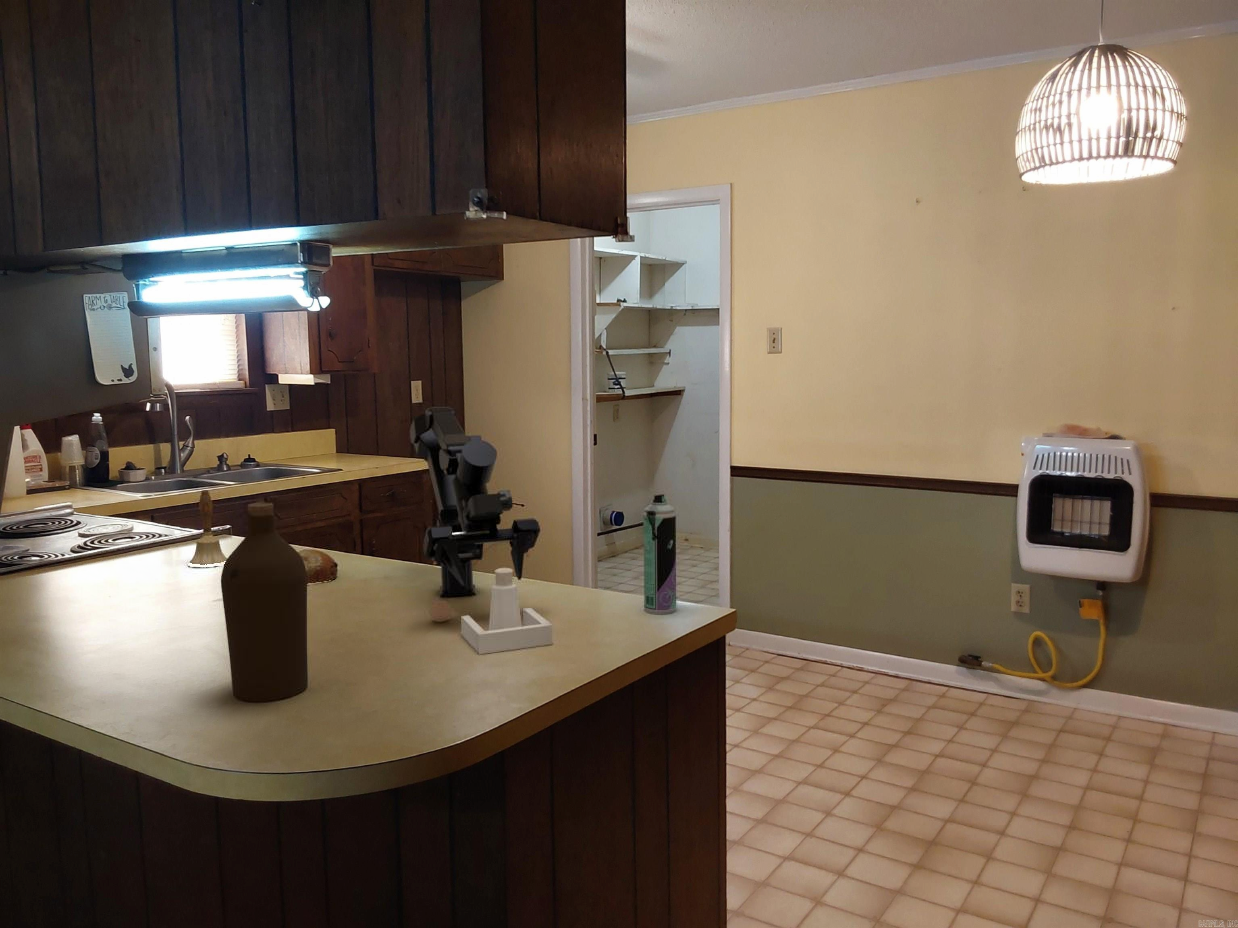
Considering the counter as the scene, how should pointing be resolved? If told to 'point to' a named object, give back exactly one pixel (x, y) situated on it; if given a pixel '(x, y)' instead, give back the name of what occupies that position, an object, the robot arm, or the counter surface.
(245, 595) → the dark brown bottle
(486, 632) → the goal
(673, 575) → the spray can
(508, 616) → the pepper shaker
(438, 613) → the ball
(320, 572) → the bread roll
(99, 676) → the counter surface
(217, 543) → the wooden handled brush
